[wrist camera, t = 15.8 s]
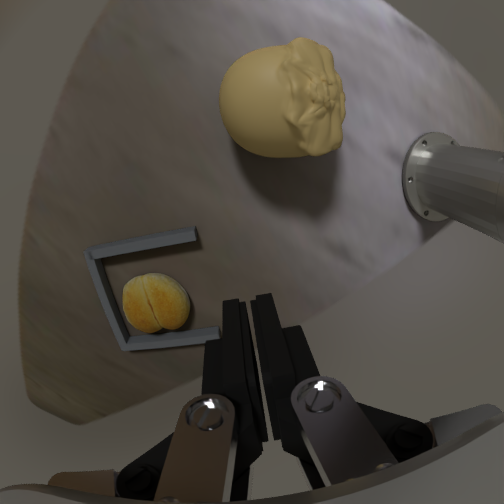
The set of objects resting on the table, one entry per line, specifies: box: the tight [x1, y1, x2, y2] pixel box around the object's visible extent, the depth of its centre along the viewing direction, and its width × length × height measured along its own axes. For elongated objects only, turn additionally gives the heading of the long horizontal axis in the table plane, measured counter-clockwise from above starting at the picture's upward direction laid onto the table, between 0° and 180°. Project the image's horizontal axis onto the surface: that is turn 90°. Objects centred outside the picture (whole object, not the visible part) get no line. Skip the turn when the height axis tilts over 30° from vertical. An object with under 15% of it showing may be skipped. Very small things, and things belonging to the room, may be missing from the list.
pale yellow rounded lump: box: [219, 38, 346, 158], centre depth 25 cm, size 12×12×11 cm
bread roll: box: [123, 273, 190, 333], centre depth 36 cm, size 8×9×4 cm
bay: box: [84, 226, 220, 351], centre depth 36 cm, size 15×15×2 cm
